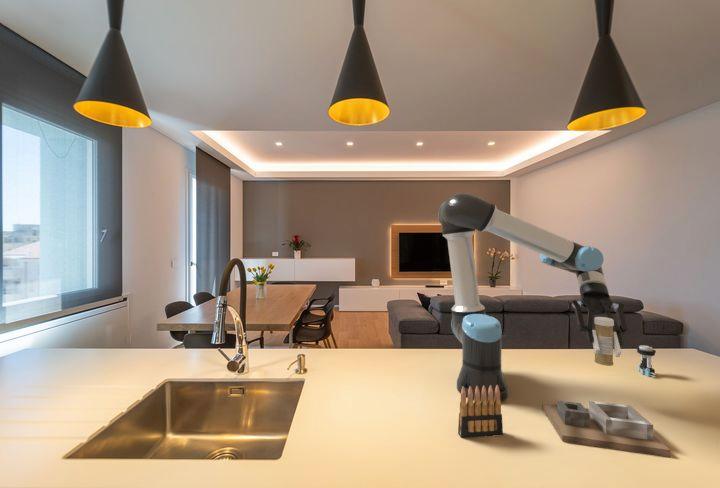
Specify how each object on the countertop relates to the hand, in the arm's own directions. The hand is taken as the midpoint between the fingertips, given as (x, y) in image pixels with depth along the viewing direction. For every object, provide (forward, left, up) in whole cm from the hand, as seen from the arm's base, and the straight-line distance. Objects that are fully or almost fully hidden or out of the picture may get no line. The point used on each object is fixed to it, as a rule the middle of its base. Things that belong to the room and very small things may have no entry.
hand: (607, 353), depth 90 cm
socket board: (-7, -12, -16) cm, 21 cm away
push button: (+27, +33, -16) cm, 45 cm away
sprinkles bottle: (+1, +4, -4) cm, 6 cm away
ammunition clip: (-36, -22, -16) cm, 46 cm away
